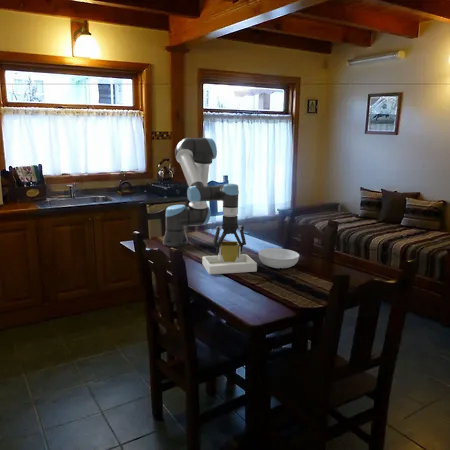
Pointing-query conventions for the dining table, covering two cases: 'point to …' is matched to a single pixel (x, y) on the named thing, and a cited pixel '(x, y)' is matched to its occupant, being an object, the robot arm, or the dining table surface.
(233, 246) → the flower pot
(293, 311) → the dining table surface
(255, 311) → the dining table surface
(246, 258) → the tray
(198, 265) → the dining table surface
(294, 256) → the serving bowl
